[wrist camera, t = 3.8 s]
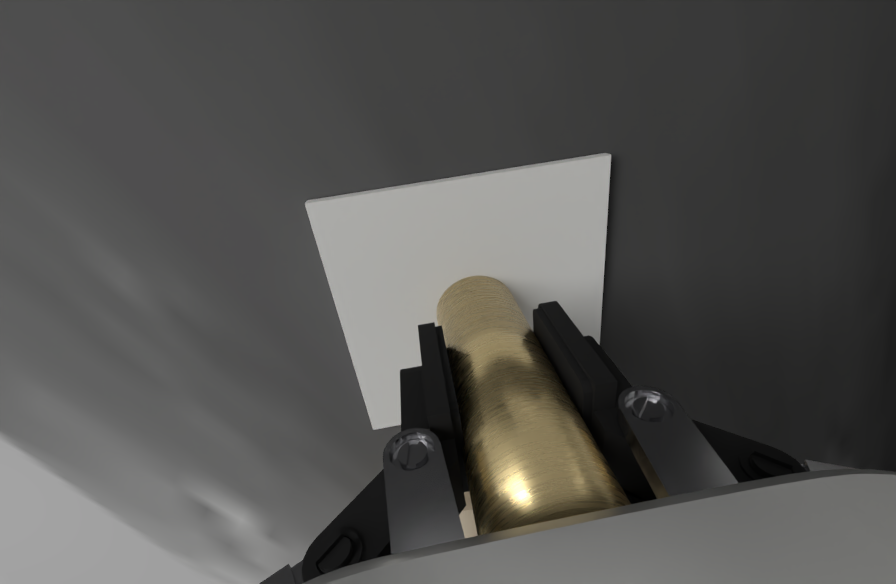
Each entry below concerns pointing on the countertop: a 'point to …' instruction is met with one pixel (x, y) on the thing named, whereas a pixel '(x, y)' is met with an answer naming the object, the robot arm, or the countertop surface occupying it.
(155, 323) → the countertop surface
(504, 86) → the countertop surface
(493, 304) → the brass peg
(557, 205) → the rubber mat
